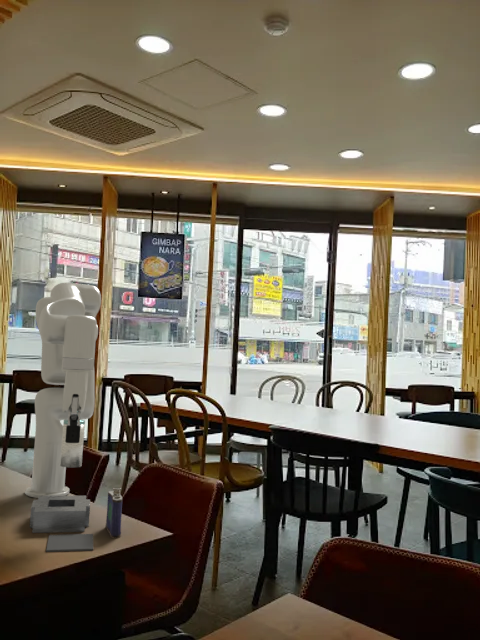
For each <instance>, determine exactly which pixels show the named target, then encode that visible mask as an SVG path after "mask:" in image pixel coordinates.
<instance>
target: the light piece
mask: <svg viewBox="0 0 480 640" xmlns="http://www.w3.org/2000/svg"><path fill="white" fill-rule="evenodd" d="M77 422H78V420H77ZM62 425H63V435H62V447H61V460H60V466H61V467H66V468H81V467H82V465H83V464H82V463H83V451H84V441H85V440H84V437H85V427H86V419H83V420H80V425H79V426H81V427H80V441H79V443H66V442H65V440H66V426H68V419H66V420H63V424H62Z"/></svg>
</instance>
